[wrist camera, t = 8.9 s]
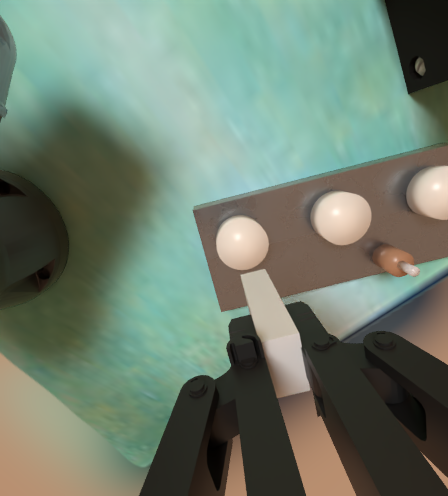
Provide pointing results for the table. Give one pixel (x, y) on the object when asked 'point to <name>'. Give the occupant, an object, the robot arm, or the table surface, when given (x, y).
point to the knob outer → (429, 192)
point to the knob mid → (341, 217)
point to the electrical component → (421, 40)
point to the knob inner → (241, 242)
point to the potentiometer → (395, 261)
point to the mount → (315, 246)
